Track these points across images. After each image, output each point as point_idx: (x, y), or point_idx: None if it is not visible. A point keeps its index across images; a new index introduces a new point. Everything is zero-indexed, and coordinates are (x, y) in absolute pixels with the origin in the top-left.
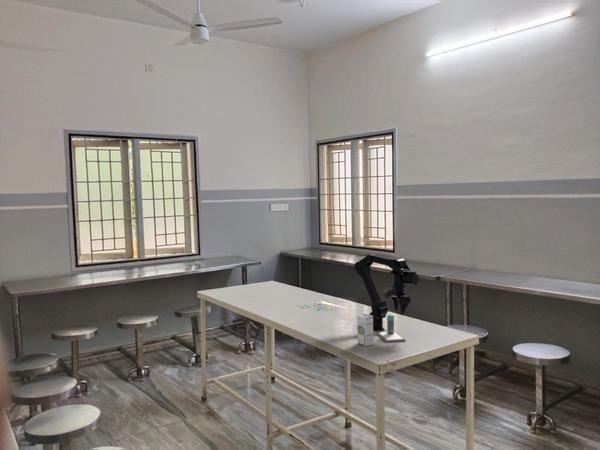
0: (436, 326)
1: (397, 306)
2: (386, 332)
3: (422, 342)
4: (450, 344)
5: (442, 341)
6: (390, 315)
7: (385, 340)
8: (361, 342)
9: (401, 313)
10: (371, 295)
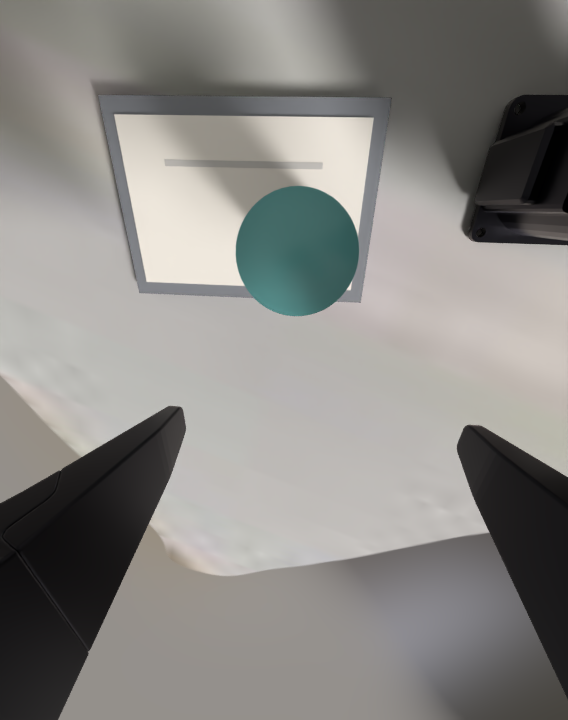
0: (391, 540)
1: (486, 508)
2: (347, 205)
3: (125, 380)
4: None
5: None
6: (343, 272)
7: (120, 96)
8: None
9: (159, 415)
10: None
